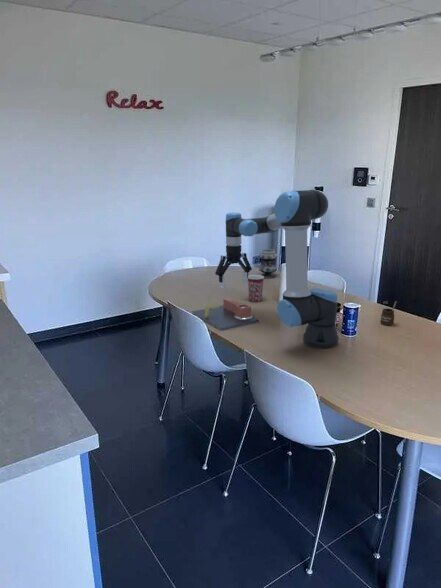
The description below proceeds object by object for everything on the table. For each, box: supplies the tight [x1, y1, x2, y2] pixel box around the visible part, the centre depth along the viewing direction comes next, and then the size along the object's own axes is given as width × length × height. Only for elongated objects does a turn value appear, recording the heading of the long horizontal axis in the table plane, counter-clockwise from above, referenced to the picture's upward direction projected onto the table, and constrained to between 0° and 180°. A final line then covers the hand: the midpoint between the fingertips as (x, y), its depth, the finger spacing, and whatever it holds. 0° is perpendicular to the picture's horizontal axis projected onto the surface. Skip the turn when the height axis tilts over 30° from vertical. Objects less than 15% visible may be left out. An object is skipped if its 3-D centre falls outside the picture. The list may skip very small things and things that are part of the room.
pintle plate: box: [192, 304, 260, 331], centre depth 228 cm, size 28×22×1 cm
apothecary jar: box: [258, 248, 278, 279], centre depth 301 cm, size 12×12×18 cm
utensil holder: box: [380, 300, 398, 327], centre depth 217 cm, size 6×6×12 cm
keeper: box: [203, 301, 220, 319], centre depth 224 cm, size 7×6×8 cm
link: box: [222, 297, 252, 318], centre depth 231 cm, size 19×6×5 cm, turn 31°
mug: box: [247, 274, 265, 303], centre depth 255 cm, size 13×9×14 cm
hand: (233, 286), depth 229 cm, fingers open, 13 cm apart
